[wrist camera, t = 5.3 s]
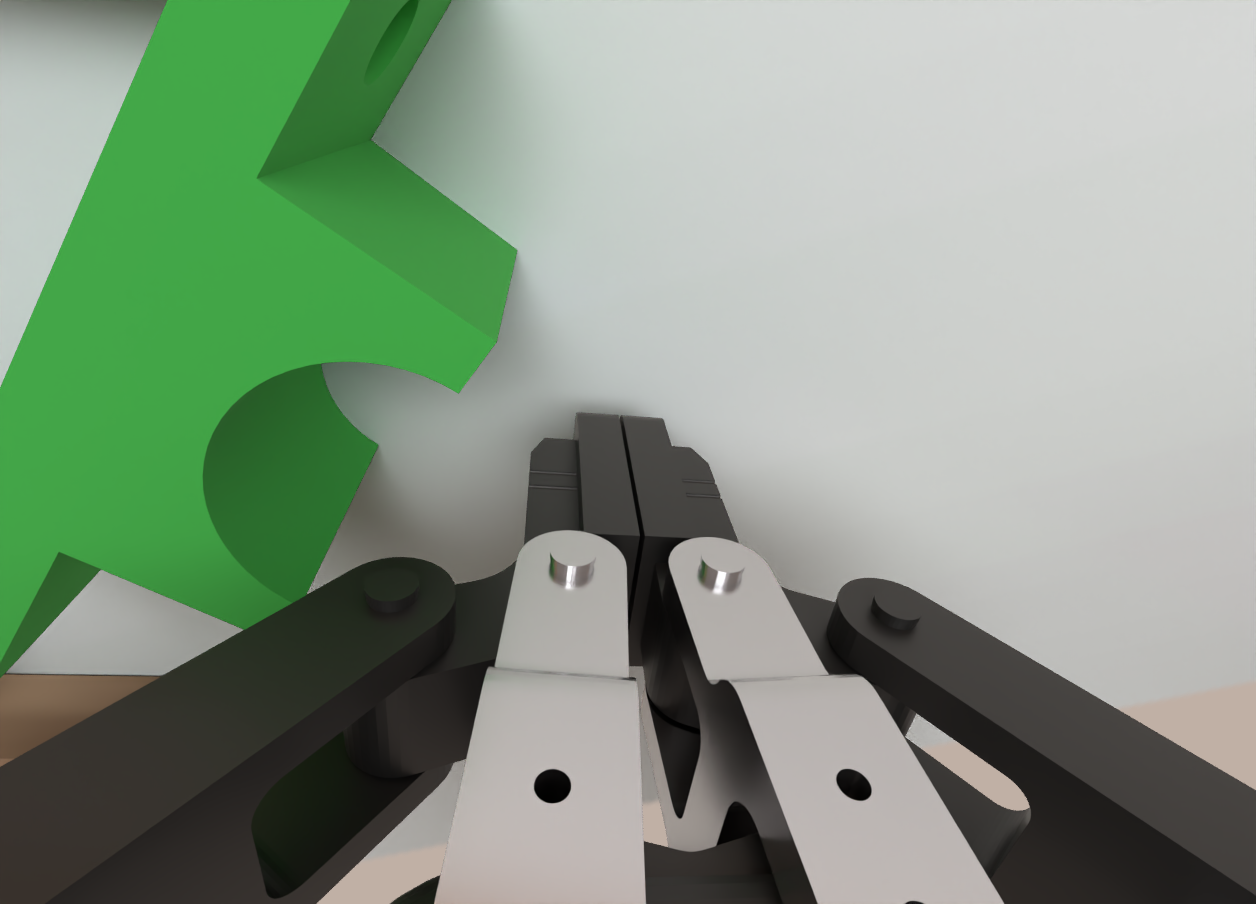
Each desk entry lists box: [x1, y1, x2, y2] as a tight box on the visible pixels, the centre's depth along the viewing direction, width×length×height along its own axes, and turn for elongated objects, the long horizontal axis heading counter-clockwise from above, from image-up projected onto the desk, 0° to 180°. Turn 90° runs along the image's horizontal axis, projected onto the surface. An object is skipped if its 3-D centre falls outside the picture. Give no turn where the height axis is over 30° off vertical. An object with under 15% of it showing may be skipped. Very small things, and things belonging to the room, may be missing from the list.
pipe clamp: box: [0, 0, 517, 678], centre depth 9 cm, size 11×4×5 cm, turn 141°
